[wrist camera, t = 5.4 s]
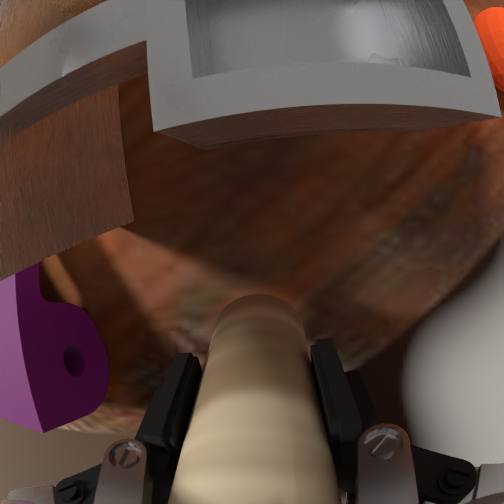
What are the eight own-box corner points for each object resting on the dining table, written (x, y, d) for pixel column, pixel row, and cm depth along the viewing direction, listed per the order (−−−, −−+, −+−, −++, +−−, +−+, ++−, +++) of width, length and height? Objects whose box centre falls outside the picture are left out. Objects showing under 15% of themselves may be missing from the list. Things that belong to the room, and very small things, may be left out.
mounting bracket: (31, 216, 23) (47, 394, 19) (-28, 191, 15) (-19, 409, 11) (94, 186, 22) (118, 401, 18) (28, 145, 14) (43, 433, 10)
